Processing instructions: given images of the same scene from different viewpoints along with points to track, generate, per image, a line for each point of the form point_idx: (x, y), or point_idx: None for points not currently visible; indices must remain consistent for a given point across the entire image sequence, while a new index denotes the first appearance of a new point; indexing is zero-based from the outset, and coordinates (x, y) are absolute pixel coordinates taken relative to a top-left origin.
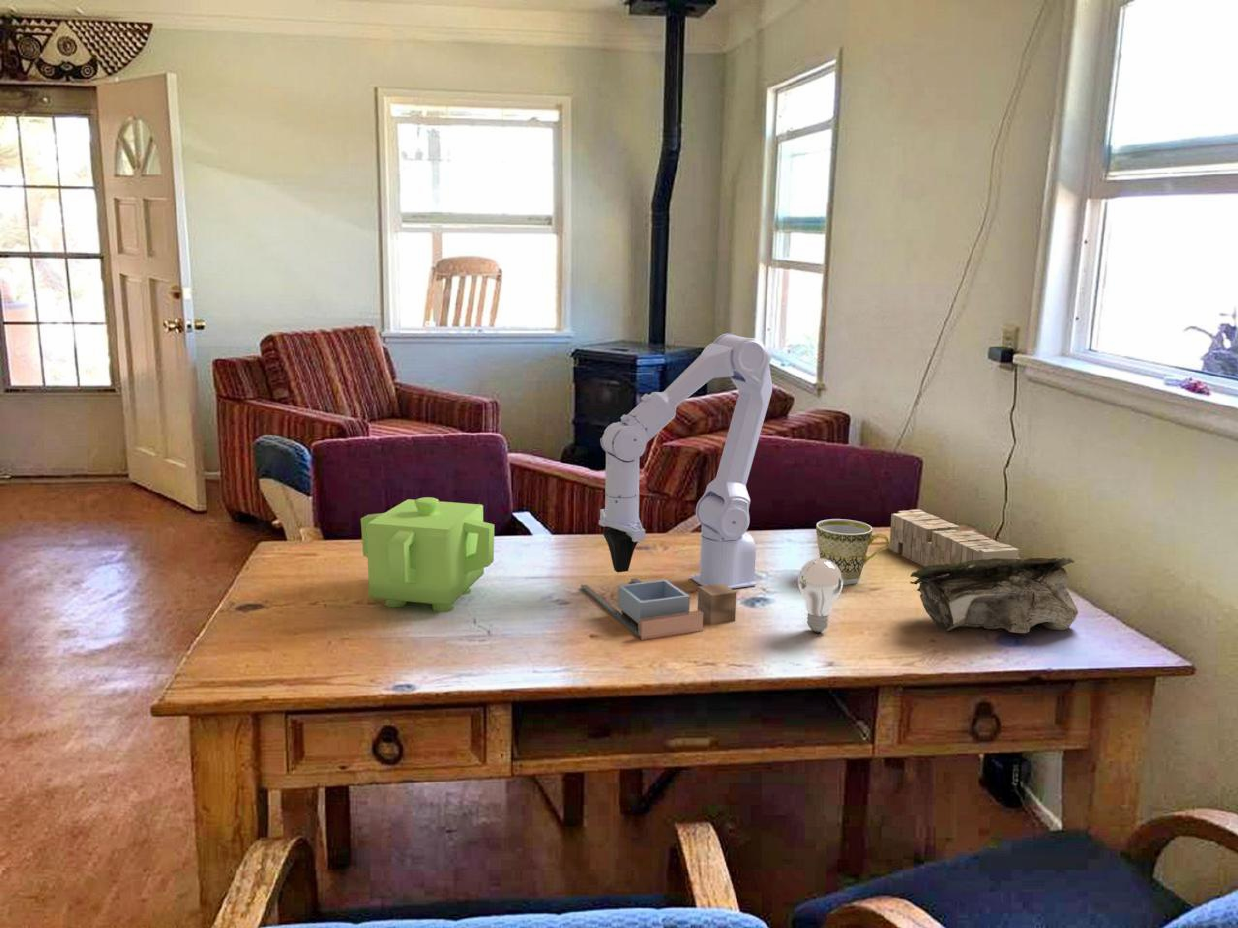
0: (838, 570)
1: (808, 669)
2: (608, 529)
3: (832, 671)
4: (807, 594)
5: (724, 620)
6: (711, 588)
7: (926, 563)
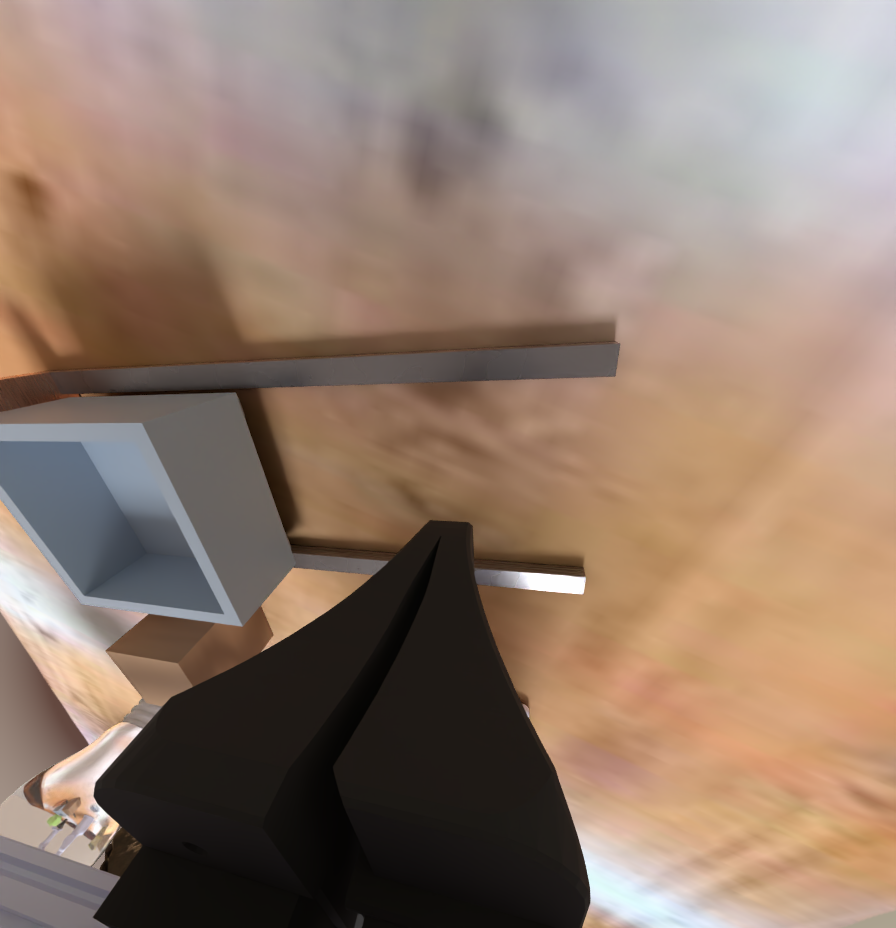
0: None
1: (12, 600)
2: (555, 914)
3: (18, 621)
4: (45, 771)
5: None
6: (166, 678)
7: None
